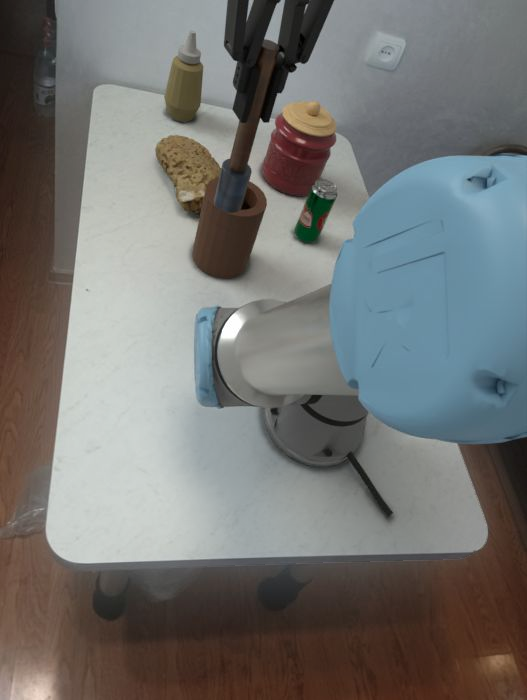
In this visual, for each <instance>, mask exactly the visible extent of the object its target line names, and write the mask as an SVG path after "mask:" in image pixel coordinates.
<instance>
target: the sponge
mask: <svg viewBox="0 0 527 700" xmlns="http://www.w3.org/2000/svg"><path fill="white" fill-rule="evenodd" d="M154 151H155V158H156V159H157V162H158V164H159V165H160V168H162V170H163V172H164V173H165V174H166V175H167V176H168V177H169V179H170V180H171V182H172V185H173V186H174V189H175V198H176V201H177V203H178V204H179V206H180V207H181V208H183V211H184V212H186V213H193V214H200V213H201V208H202V204H203V199H204V194H205V189H206V186H207V184H208V183H209V181H211V180H212V179H214V178H216V177H219V176H220V172H221V168H222V167H221V165H220V164H219V162H217V161H216V159H215V157H214V156H212V153H210V151H209V149H208V148H207V147H205V146H204V145H202V144H201V143H199V142H198V141H197V140H195V139H194V138H189V137H187V136H185V135H178V134H175V135H173V134H172V135H168V136H167V137H164V138H161V140H159V141H158V142H156V144H155V149H154Z"/></svg>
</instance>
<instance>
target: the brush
mask: <svg viewBox="0 0 527 700" xmlns="http://www.w3.org/2000/svg"><path fill="white" fill-rule="evenodd" d="M277 44H278V43H276V42H275V41H273V40H270V39H266V38H264V41H263V44H262V46H261V49H260V52H259V55H258V58H257V60H256V64H257V66H258V67H259V68H260V73H259V77H258V81H257V84H256V88H255V92H254V96H253V100H252V104H251V108H250V112H249V115H248V119H247V123H241V122H240V121H239V120H238V124H237V129H236V132H235V136H234V140H233V145H232V149H231V153H230V156H229V158H227V159H224V160H223V162H222V164H221V167H220V168H221V172H220V176H219V180H218V185H217V189H216V193H215V197H214V203H215V205H216V206H217V207H218V208H219V209H220V210H222V211H224V212H228V213H235V212H238V211H239V210H240V209H241V207H242V204H243V200H244V197H245V193H246V190H247V186H248V183H249V181H250V179H251V175H252V172H253V171H252V167H251V166H250V164H249V161H250V157H251V154H252V150H253V146H254V141H255V138H256V136H257V131H258V128H259V125H260V120H261V118H260V117H261V114H262V110H263V107H264V103H265V99H266V96H267V92H268V89H269V85H270V81H271V78H272V74H273V70H274V67H275V63H276V60H277V56H278V52H279V46H278V45H277Z"/></svg>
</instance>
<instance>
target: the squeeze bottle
mask: <svg viewBox="0 0 527 700" xmlns="http://www.w3.org/2000/svg"><path fill="white" fill-rule="evenodd" d="M201 56H202V52H201V50H200V49H198V47H197V33H196V31H194V30H190V31H189V33H188V35H187V38H186V41H185V44H182V45H180V46H179V47H178V52H177V55H176V56H174V57H173V58H172V61H171V67H170V70H169V73H168V74H169V75H168V79H167V84H166V88H165V93H164V96H163V97H164V102H165V107H166V112H167V115H168V116H169V118H171V119H173V120H175V121H177V122H182V123H187V122H188V123H189V122H191V121H192V120H193V119H194V118H195V117H196V114H197V113H198V111H199V109H200V108H201V104H202V91H203V90H202V89H203V78H204V77H203V76H204V65H203V63H202V62H201Z"/></svg>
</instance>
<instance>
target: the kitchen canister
mask: <svg viewBox="0 0 527 700" xmlns="http://www.w3.org/2000/svg"><path fill="white" fill-rule="evenodd" d="M274 125H275V128H274V129H273V130H272V131H271V134H270V139H269V143H268V146H267V150H266V154H265V156H264V158H263V161H262V165H261V167H262V168H261V174H262V176H263V178H264V180H265V181H266V182H267V184H269V186H271V187H272V188H274V189H275V190H277V191H279V192H281V193H283V194H286V195H290V196H295V197H302V196H308V194H309V191H310V189H311V186H312V185H313V184H314V183H315V182H316V181H317V180H318V179H322V176H323V175H322V174H323V173H324V170H325V168H326V165H327V163H328V160H329V159H330V157H331V155H332V153H331V152H332V151H331V148H332V147H334V145H336V143H337V134H336V131H337V129H338V128H337V127H338V126H337V122H336V120H335V119H334V117H332V115H331V114H330V112H329V111H328V110H327V109H325V108H324V107H322V106H321V105H320V103H319V101H316V100H312V101H306V100H305V101H303V100H301V101H300V100H299V101H296V102H290V103H288V104H286V105H284V107H283V108H282V112H280V113H279V114H277V116H276V118H275V119H274Z"/></svg>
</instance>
